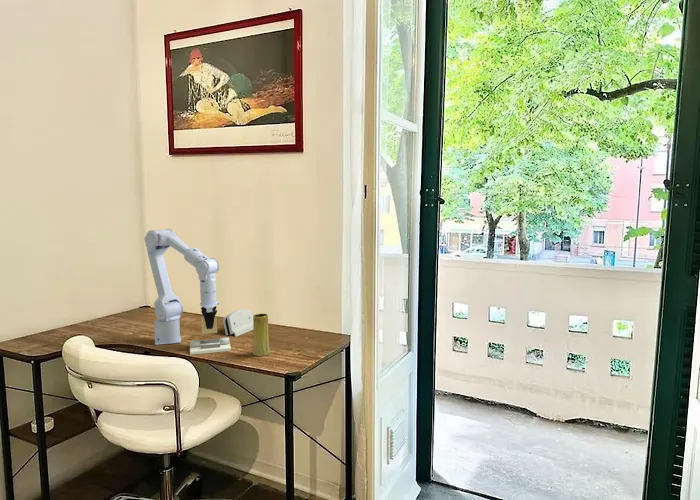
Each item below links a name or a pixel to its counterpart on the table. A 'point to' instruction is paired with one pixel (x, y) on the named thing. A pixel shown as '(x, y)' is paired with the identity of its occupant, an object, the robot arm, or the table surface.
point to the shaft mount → (209, 346)
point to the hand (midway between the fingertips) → (209, 327)
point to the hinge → (238, 322)
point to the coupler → (208, 331)
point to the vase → (260, 335)
